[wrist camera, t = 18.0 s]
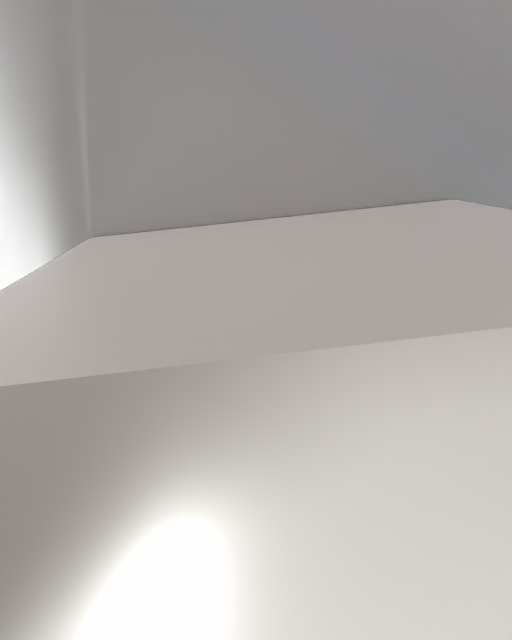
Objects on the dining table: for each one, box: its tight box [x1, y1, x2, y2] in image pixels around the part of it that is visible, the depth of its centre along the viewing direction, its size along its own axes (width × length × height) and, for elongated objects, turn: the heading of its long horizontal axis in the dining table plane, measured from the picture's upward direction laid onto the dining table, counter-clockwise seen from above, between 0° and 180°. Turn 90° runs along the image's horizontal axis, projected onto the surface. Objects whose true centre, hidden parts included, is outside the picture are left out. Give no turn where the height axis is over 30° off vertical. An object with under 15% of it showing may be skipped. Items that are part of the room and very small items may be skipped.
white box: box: [0, 199, 512, 640], centre depth 10 cm, size 10×10×9 cm
